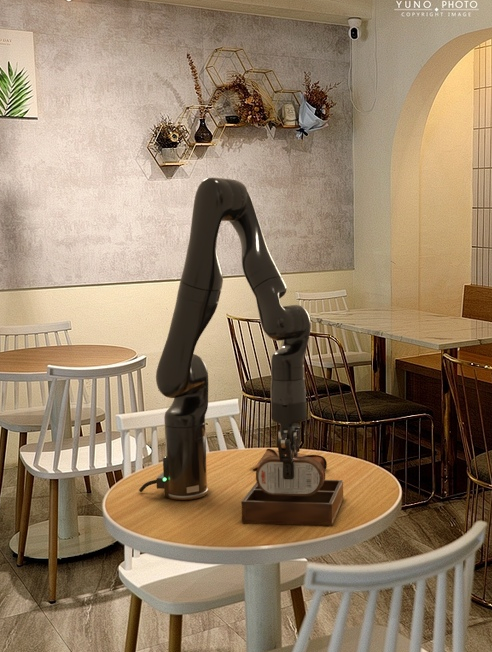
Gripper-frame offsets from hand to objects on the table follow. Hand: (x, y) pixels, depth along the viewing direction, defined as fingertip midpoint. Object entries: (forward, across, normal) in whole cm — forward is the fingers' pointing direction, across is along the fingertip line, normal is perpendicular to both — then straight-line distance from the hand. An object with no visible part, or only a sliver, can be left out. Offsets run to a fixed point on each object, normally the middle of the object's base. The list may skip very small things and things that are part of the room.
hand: (290, 476), depth 190 cm
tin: (+4, 0, 0) cm, 4 cm away
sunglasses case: (+9, -34, -8) cm, 36 cm away
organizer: (+9, -4, 0) cm, 10 cm away
